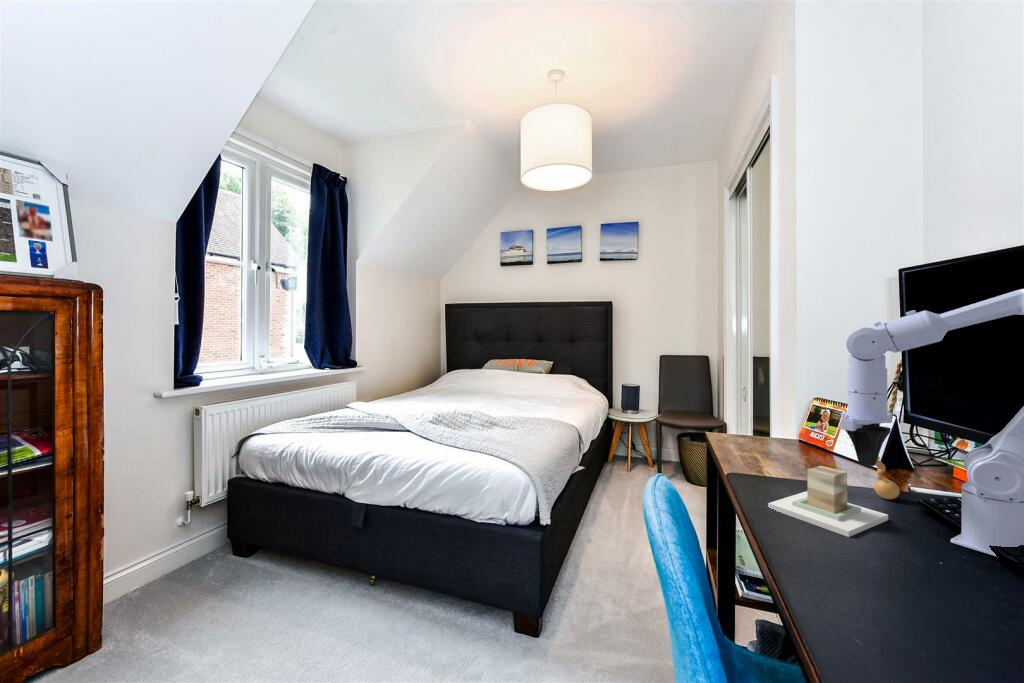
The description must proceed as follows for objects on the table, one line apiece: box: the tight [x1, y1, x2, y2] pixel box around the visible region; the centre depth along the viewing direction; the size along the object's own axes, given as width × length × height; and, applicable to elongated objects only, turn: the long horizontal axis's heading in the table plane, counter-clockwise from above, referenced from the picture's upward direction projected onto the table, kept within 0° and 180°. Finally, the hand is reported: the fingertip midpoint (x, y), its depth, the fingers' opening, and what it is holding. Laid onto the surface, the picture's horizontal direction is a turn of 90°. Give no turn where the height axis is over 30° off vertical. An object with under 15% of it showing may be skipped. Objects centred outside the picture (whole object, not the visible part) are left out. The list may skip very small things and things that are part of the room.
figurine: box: [873, 456, 900, 500], centre depth 90 cm, size 8×6×12 cm
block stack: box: [806, 465, 848, 514], centre depth 82 cm, size 5×5×8 cm
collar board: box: [767, 490, 889, 538], centre depth 83 cm, size 14×14×2 cm
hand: (867, 464), depth 80 cm, fingers closed
